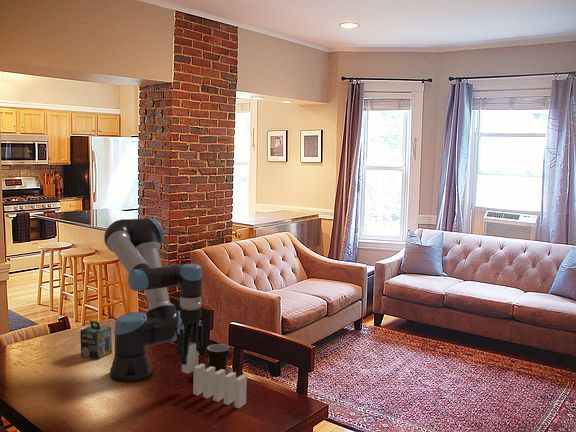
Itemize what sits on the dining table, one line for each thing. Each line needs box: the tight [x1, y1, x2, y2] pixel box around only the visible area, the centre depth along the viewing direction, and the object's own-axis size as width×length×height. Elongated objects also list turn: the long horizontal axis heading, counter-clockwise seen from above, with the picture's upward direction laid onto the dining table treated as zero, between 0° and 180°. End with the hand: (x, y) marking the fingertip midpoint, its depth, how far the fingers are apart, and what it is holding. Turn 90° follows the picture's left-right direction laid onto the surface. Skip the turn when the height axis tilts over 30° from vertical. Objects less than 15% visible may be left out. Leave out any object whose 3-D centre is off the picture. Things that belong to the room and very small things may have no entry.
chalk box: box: [80, 320, 113, 361], centre depth 224 cm, size 9×9×15 cm
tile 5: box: [223, 371, 237, 406], centre depth 185 cm, size 2×4×10 cm, turn 151°
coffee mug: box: [206, 343, 230, 372], centre depth 212 cm, size 12×9×10 cm
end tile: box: [188, 341, 196, 374], centre depth 192 cm, size 2×4×10 cm, turn 151°
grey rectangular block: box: [234, 374, 248, 409], centre depth 183 cm, size 2×4×10 cm, turn 151°
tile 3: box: [202, 366, 215, 399], centre depth 189 cm, size 2×4×10 cm, turn 151°
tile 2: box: [192, 363, 206, 396], centre depth 191 cm, size 2×4×10 cm, turn 151°
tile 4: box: [212, 369, 227, 403], centre depth 187 cm, size 2×4×10 cm, turn 151°
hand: (189, 369), depth 193 cm, fingers closed on end tile, 4 cm apart
